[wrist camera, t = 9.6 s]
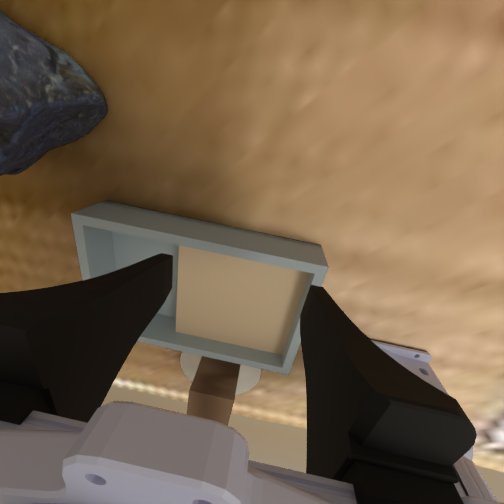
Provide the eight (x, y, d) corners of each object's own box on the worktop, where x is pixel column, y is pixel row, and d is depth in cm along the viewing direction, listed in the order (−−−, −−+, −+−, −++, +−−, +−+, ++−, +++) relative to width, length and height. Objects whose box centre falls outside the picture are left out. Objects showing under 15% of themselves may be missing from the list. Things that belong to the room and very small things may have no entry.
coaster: (268, 344, 27) (268, 348, 27) (253, 397, 32) (252, 402, 31) (183, 325, 28) (181, 329, 27) (180, 381, 32) (178, 385, 32)
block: (241, 358, 28) (234, 400, 24) (235, 382, 30) (227, 426, 26) (204, 349, 28) (189, 390, 24) (200, 374, 30) (186, 416, 26)
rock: (102, 202, 22) (147, 112, 17) (-24, 217, 16) (-20, 74, 10) (13, 73, 23) (27, -54, 18) (-144, 34, 16) (-203, -193, 11)
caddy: (320, 245, 21) (328, 267, 18) (287, 343, 27) (288, 374, 23) (105, 200, 22) (70, 213, 18) (116, 305, 28) (91, 331, 24)
